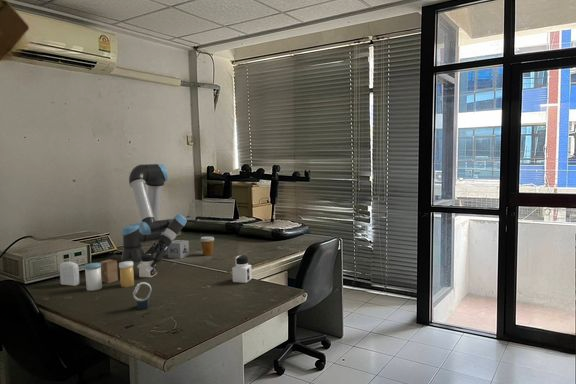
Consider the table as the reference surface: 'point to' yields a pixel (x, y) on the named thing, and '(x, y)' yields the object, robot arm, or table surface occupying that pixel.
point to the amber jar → (126, 273)
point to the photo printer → (69, 273)
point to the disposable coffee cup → (207, 245)
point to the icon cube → (178, 249)
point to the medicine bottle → (145, 262)
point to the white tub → (93, 276)
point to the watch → (142, 302)
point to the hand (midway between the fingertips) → (142, 269)
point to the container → (242, 270)
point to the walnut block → (109, 271)
